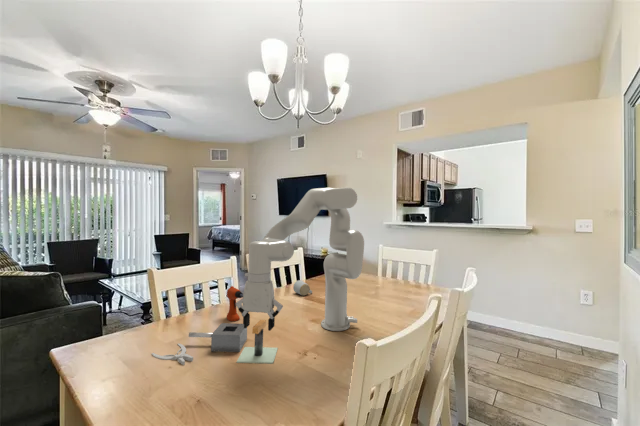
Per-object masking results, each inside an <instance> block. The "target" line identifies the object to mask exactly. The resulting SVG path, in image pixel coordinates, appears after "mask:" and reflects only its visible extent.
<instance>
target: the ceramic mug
mask: <svg viewBox="0 0 640 426" xmlns="http://www.w3.org/2000/svg"><path fill="white" fill-rule="evenodd" d="M292 288H293V291H294V292H295V294H299V295H300V296H303V297H304V296H307V295H308V294H313V290H311V287H310V285H309V284H308V283H306V282H305V281H303V280H302V279H300V280H299V279H298V280H296V281H295V282H294V284H293V286H292Z"/></svg>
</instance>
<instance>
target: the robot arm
mask: <svg viewBox="0 0 640 426" xmlns="http://www.w3.org/2000/svg"><path fill="white" fill-rule="evenodd" d="M357 201H358V194H357V191H355V189H353V188H351V187H318V188H311V189H309V190H308V191H307V192H306V193H305V194H304V196H303V197H302V198H301V199H300V201H299V202H298V204H297V205H296V206H295V208H294V209H293V210H292V211H291V213H289V214H288V215H287V216H286V217H284V218H283V219H282V220H280V221H278V222H277V223H276V224H274V226H273V227H271V228H270V229H269V230H268V232H267V233H266V234H265V236H264V237H263V239H261V240H255V241H251V242H250V243H249V244H248V271H247V272H245V273H244V278H247V280H246V281H245V284H244V290H243V297H242V298H240V299H239V300H238V301H236V308H237V309H238V312H240V314H241V316H242V318H243V319H242V324H244V328H247V329H248V327H249V326H250V322H251V317H250V316H251V315H250V313H259V314H261V313H262V314H267V315H268V317H269V318H268V323H267V324H268V327H267V329H268V331H272V329H273V328H274V327H275V320H276V318H275V317H277V315H278V314H279V313H280V312H281V310H282V309H283V307H284V306H283V304H281V303H280V302H279V301H278V300H276V299H275V290H274V288H275V287H274V283H273V280H272V279H271V276H272V274H271V273H272V262H279V263H280V262H281V263H282V262H283V263H284V262H287V261H289V260H291V259H292V258H293V255H294V253H295V249H294V246H293V244H292V243H291V242H290V241H288V240H285V239H287V238H288V237H289V236H292V235H293V234H296V233H299V232H301V231H304V230H306V229H308V228H309V226H310V225H311V224H312V223H313V221H314V220H315V218H316V217H317V216H318V214H319V213H320V212H321V210H322V211H323V210H325V211H328V212H329V215H330V228H329V229H330V230H329V239H328V240H329V246H330V248H331V249H333V250H335V251H340V252H346V254H345V253H344V254H343V253H339V252H334V253H333V252H331V253H330V254H327V255H326V257H325V258H324V261H323V271H324V278H325V288H324V289H325V294H324V296H325V299H324V300H325V302H324V318H323V319H322V320H321V323H320V326H321V327H322V328H323V329H325V330H327V331H332V332H342V331H346V330H348V329H349V328H351V327H350V326H351V323H354V324H355V323H356V324H358V318H357V317H355V316H348V313H347V310H348V309H347V308H348V307H347V306H348V282H347V280H346V279H349V280H357V279H358V278H359V277H360V276H361V273H362V272H363V271H362V270H363V264H364V262H363V261H364V250H365V239H364V236H363V234H362V233H361V231H359V230H357V229H356V230H355V229H351V216H350V213H349V210H348V209H351V208H353V207H354V206H355V205H356V204H357ZM275 307H276V310H274V308H275Z"/></svg>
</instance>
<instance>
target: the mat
mask: <svg viewBox="0 0 640 426" xmlns="http://www.w3.org/2000/svg"><path fill="white" fill-rule="evenodd" d="M243 347H244V348H242V351H241V353H240V355H239V357H238V358H237V360H236V363H237V364H270V365H271V364H273V365H274V363H275V362H274V361H275V359H276V355H277V353H278V352H277V351H278V349H279V347H268V346H267V347H266V346H263V354H262V355H261V356H255V355H254V348H255V346H243Z"/></svg>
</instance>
